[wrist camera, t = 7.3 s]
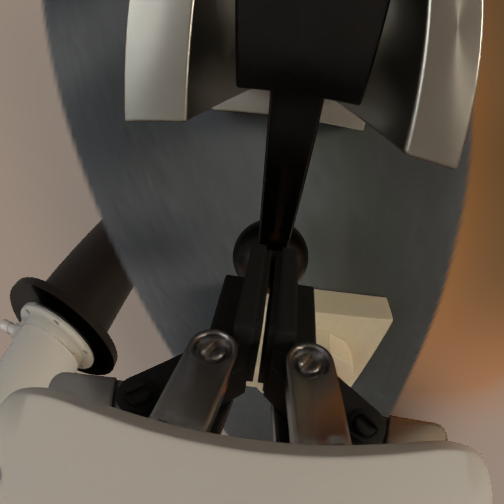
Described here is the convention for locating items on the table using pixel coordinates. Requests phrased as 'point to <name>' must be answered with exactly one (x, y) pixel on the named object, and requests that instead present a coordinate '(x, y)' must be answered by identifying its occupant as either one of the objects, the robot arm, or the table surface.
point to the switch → (299, 96)
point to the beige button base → (344, 330)
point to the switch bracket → (333, 112)
